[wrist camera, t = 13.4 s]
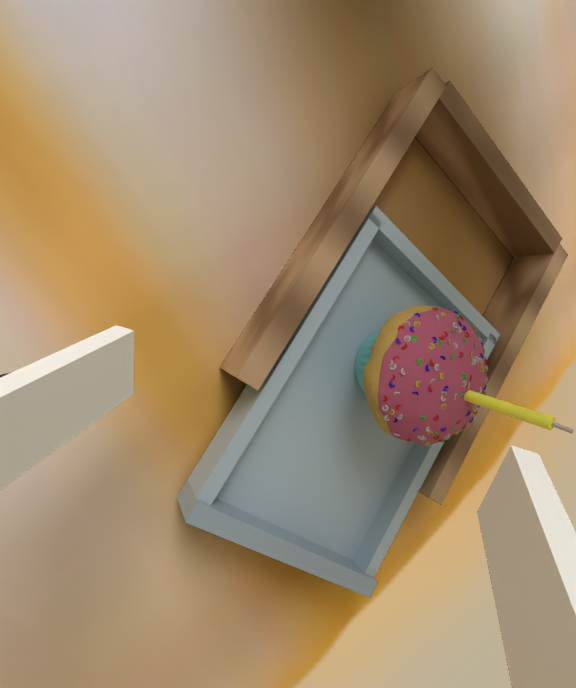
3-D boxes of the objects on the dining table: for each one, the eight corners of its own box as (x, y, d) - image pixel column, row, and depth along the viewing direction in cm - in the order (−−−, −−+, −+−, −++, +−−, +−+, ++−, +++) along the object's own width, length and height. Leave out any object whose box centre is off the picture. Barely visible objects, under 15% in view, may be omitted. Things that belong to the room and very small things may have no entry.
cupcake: (442, 355, 30) (629, 384, 20) (382, 446, 29) (550, 532, 18) (376, 280, 27) (558, 265, 16) (305, 377, 25) (453, 434, 15)
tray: (353, 213, 27) (381, 204, 24) (473, 332, 33) (506, 334, 30) (176, 497, 24) (185, 522, 21) (345, 570, 30) (370, 597, 27)
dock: (398, 88, 28) (436, 61, 25) (529, 254, 36) (570, 250, 32) (219, 367, 24) (236, 377, 21) (407, 485, 32) (440, 505, 29)
